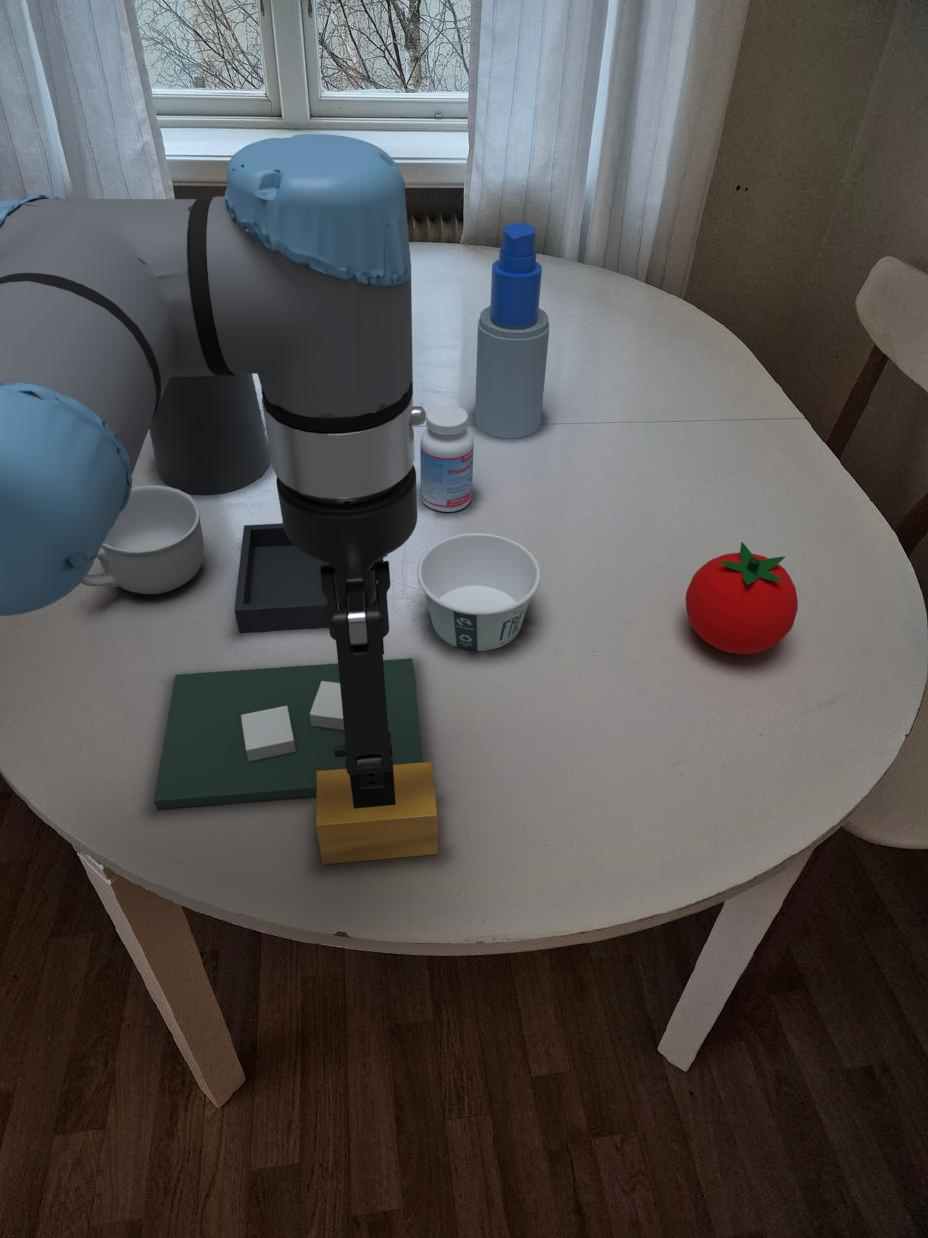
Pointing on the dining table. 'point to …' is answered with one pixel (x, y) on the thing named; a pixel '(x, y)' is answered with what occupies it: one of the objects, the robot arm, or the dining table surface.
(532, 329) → the spray bottle
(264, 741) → the grey square block
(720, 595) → the tomato
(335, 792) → the yellow rectangular block
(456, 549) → the food container
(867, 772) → the dining table surface
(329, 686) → the white square block
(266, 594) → the tray
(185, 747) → the chalkboard
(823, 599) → the dining table surface
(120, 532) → the teacup
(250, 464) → the vase
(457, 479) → the pill bottle
